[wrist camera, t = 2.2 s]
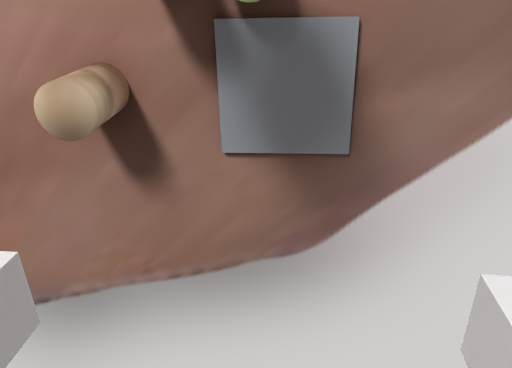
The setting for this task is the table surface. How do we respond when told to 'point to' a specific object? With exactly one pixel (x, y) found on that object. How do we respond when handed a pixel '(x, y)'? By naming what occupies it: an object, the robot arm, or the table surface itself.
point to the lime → (249, 0)
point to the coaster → (286, 83)
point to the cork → (81, 101)
